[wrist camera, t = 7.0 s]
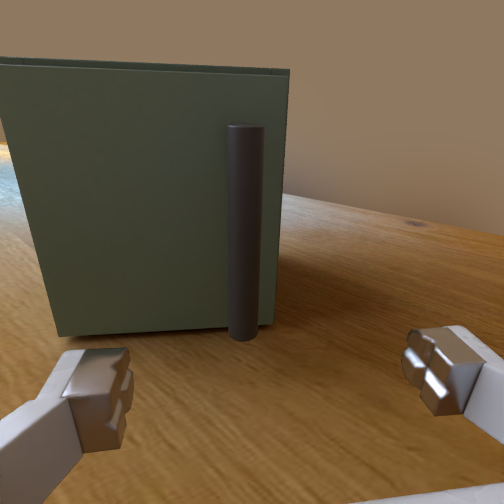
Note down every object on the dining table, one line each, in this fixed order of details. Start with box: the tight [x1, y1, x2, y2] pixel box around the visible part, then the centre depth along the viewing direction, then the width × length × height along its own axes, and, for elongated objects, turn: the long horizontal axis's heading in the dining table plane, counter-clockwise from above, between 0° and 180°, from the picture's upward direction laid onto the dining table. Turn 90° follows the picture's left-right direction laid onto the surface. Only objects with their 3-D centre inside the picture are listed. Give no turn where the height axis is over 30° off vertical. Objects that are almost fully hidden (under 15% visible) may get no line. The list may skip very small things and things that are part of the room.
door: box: [0, 64, 288, 342], centre depth 19 cm, size 6×16×17 cm, turn 97°
